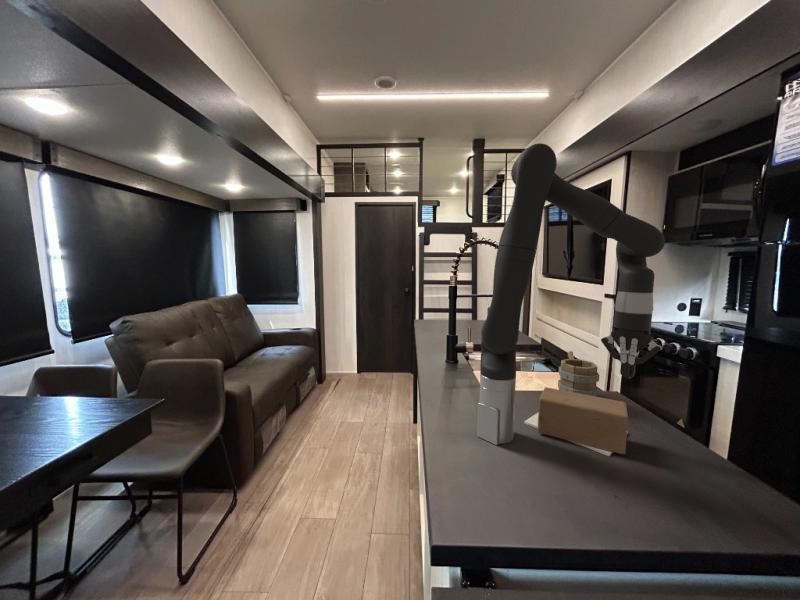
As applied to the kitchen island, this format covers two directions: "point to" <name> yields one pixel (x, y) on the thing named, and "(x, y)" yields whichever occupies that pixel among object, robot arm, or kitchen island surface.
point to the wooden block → (583, 419)
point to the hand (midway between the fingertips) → (627, 377)
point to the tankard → (578, 376)
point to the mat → (534, 423)
